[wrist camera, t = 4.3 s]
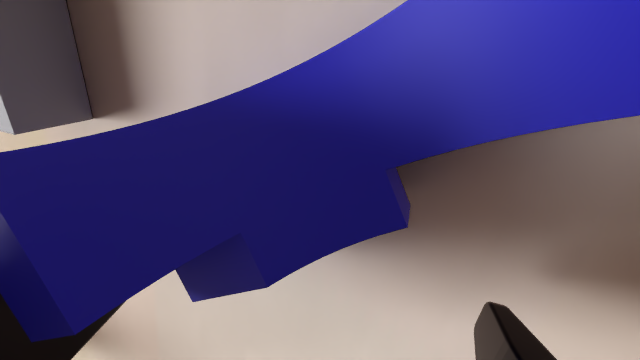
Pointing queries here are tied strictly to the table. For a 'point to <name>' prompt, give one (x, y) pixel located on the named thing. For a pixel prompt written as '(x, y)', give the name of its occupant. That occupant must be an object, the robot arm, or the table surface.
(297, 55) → the table surface
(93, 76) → the table surface
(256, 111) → the blue notched cradle
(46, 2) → the long grey end-walled tray
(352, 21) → the table surface
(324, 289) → the table surface
